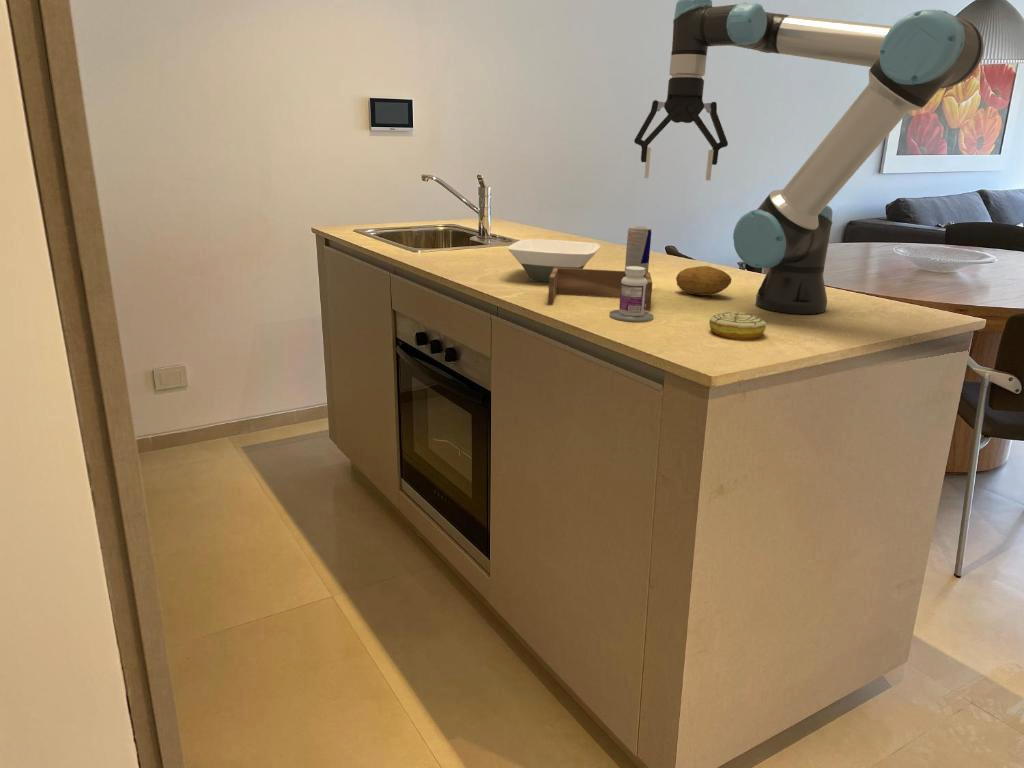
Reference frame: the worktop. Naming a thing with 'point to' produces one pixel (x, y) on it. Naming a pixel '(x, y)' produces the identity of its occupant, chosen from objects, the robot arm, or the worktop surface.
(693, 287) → the potato
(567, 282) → the wooden u-shaped frame
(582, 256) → the bowl
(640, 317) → the coaster
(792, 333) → the worktop surface
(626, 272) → the pill bottle
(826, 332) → the worktop surface
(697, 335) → the worktop surface
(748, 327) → the decorated donut
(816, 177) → the robot arm
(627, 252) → the beverage can
